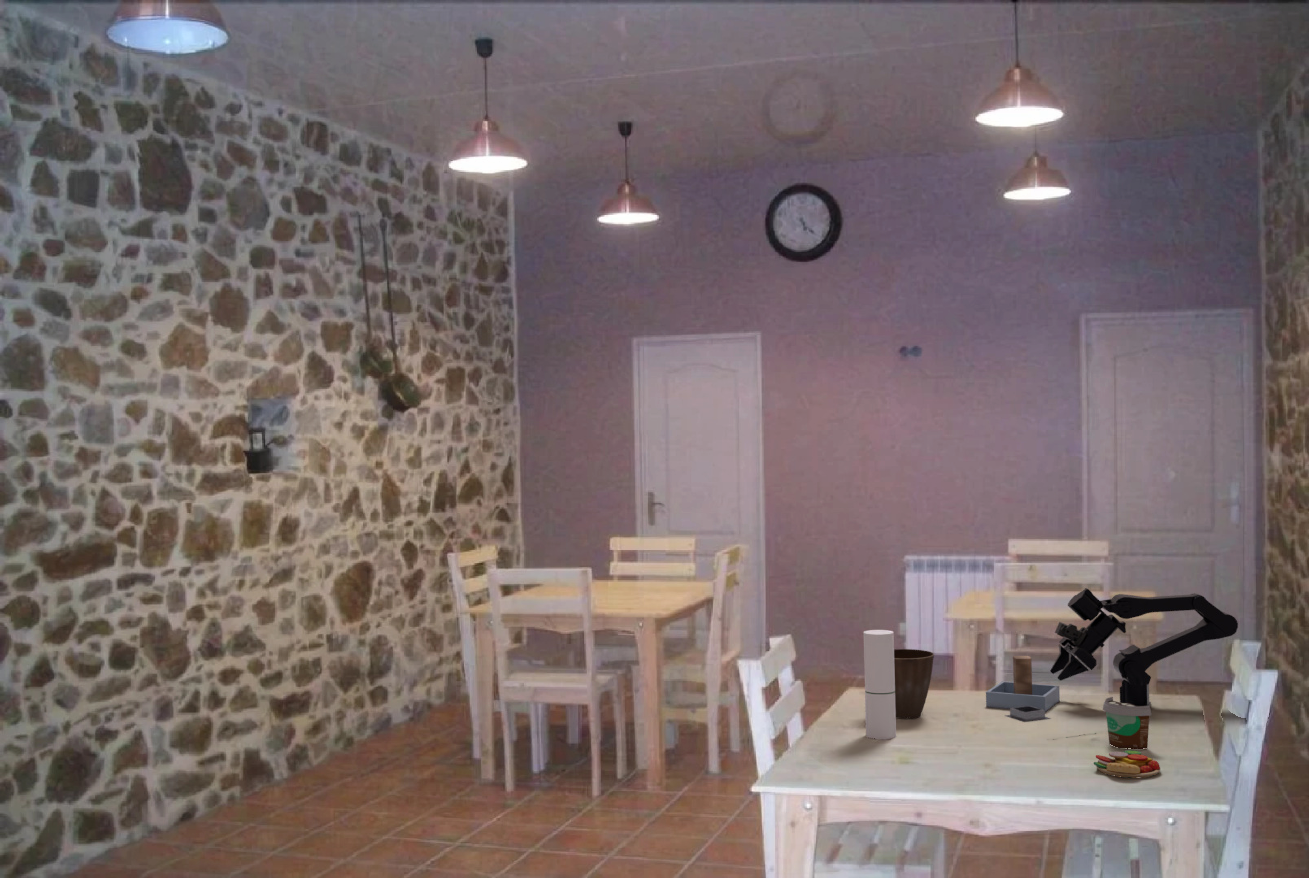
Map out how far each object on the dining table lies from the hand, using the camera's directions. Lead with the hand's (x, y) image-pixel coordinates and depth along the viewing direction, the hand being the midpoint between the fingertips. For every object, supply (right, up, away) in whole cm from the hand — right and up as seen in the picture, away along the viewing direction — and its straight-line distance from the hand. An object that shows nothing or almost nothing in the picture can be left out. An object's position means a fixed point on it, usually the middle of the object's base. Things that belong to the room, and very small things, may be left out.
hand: (1055, 675), depth 339 cm
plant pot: (-40, -9, -7) cm, 42 cm away
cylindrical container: (-50, -10, -27) cm, 58 cm away
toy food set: (-5, -9, -64) cm, 65 cm away
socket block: (-11, -8, -15) cm, 20 cm away
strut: (-8, -7, +1) cm, 11 cm away
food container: (+2, -8, -43) cm, 44 cm away
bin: (-8, -8, +1) cm, 11 cm away
